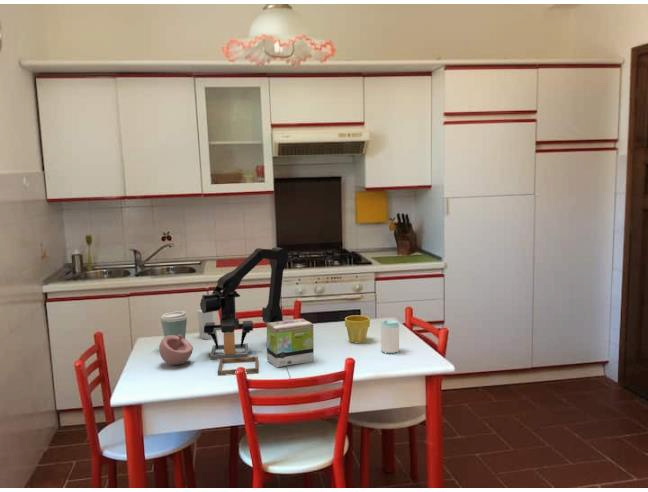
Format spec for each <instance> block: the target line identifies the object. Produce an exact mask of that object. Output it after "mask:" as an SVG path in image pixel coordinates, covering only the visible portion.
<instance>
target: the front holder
mask: <svg viewBox="0 0 648 492" xmlns="http://www.w3.org/2000/svg"><path fill="white" fill-rule="evenodd" d="M248 362H249V363H251V362H255V363H254V364H255V365H254V367H251V368H245V369H246V372H247V374H246V375H248V374H250V375H251V374H259V356H248V357H241V358H223V359H219V363H218V368H217V376H227V375H226V374H232V375H236V374H235V371H236V369H237V368H235V369H234V368H233V369H231V368H230V369H223V364H231V363H232V364H233V363H248Z"/></svg>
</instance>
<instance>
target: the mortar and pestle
mask: <svg viewBox="0 0 648 492" xmlns="http://www.w3.org/2000/svg"><path fill="white" fill-rule="evenodd" d="M158 347H159V348H158V349H159V350H158V351H159V355H160V357H161V359H162V360H163V361H164V362H165V363H167V364H168V365H172V366H179V365H182V364H184V363H186V362H187V361H188V360H189V359H190V358H191V357H192V353H193V351H194V347H193V345H192V344H191V342H190V341H188V339H186V338H185V339H184V338H183V336H182V335H180V334H179V335H178V336H176V335H168V336H166V337H164V336H163V338H162V340H160V343H159V346H158Z"/></svg>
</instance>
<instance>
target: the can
mask: <svg viewBox="0 0 648 492" xmlns="http://www.w3.org/2000/svg"><path fill="white" fill-rule="evenodd" d="M381 322H382V323H381V324H380V351H381V352H382V353H384V352H386V353H385V354H388V353H393V354H396V353H395V352H397V353H398V352H399V351H400V325H399V323H398V321H397V320H396V319H384V320H382V321H381Z"/></svg>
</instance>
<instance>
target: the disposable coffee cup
mask: <svg viewBox="0 0 648 492" xmlns="http://www.w3.org/2000/svg"><path fill="white" fill-rule="evenodd" d="M187 321H188V314H187V312H186V311H184V310H177V311H172V312H167V313H164V314H162V315H161V317H160V323H161V328H162V333H163V338H164V337H166V336H168V335H176V336H178V335H179V334H180V335H182V336H183V338H184V339H186V334H187V333H186V332H187V324H188V323H187Z"/></svg>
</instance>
